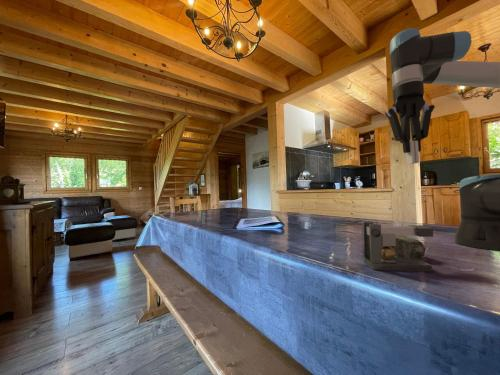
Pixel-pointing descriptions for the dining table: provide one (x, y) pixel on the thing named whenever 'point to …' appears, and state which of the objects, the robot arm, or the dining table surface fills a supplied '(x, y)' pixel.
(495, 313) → the dining table surface
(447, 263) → the dining table surface
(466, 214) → the robot arm
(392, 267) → the cracker base
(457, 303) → the dining table surface
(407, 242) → the stone
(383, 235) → the lever
